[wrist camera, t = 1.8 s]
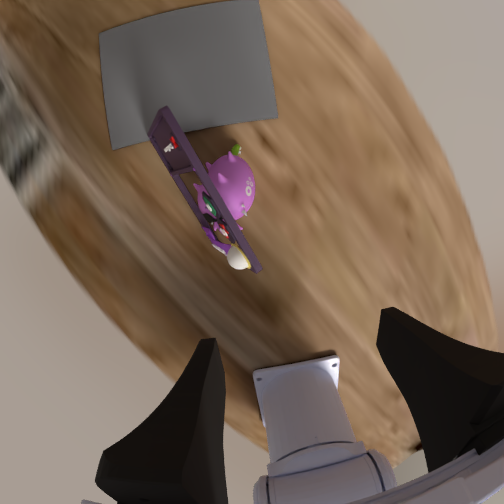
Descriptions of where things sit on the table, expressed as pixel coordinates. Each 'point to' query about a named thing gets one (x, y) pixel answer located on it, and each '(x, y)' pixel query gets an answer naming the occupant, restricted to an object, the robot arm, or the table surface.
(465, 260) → the table surface
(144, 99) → the mat
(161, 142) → the purple monster photo frame
